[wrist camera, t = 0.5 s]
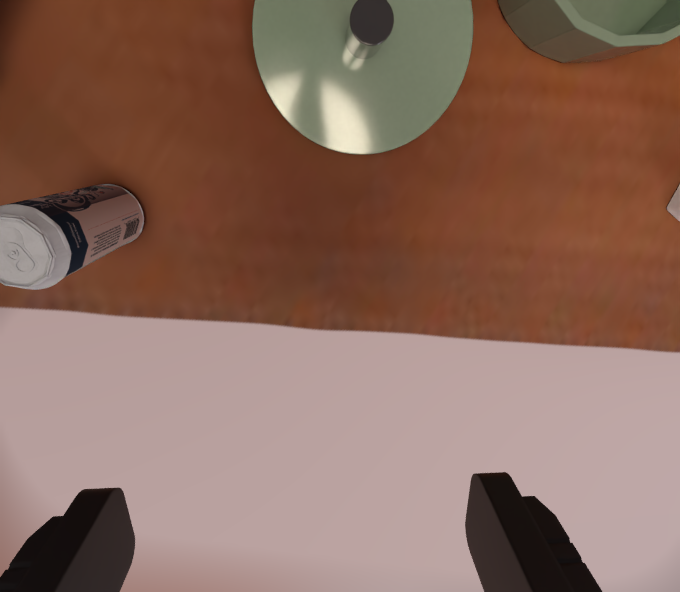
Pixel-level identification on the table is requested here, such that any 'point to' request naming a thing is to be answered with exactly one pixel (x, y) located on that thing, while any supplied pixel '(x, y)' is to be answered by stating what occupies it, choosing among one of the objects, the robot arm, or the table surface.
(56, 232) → the beer can
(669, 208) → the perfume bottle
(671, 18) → the pot
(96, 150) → the table surface
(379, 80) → the pot lid
